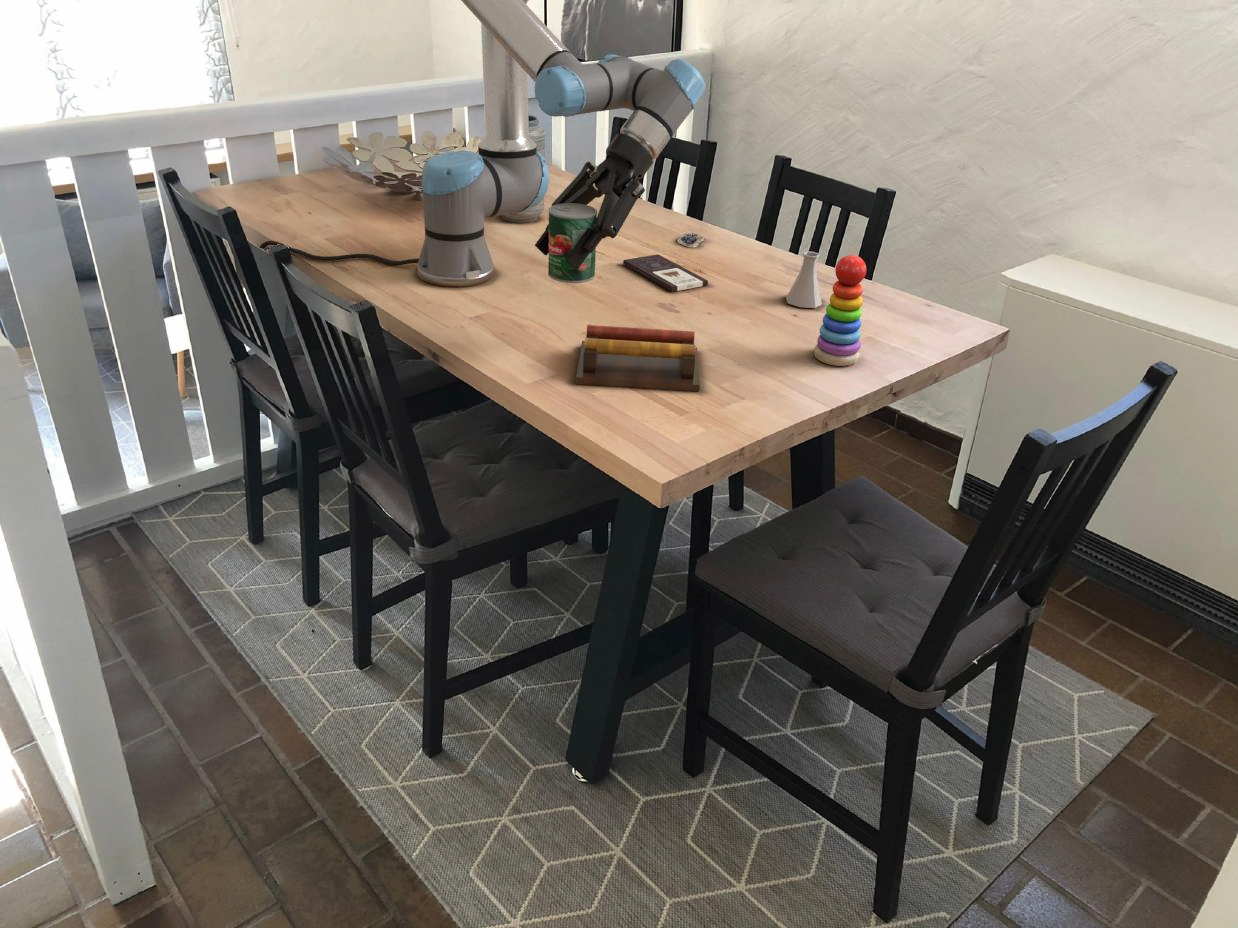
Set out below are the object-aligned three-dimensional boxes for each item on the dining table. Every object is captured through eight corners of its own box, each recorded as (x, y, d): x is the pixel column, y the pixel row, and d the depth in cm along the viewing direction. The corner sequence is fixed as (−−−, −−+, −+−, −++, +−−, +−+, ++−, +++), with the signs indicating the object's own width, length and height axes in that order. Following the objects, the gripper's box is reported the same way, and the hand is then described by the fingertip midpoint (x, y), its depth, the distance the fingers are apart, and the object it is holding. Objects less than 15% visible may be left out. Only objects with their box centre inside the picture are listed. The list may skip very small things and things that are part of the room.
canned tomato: (604, 274, 166) (606, 209, 161) (577, 286, 160) (579, 220, 155) (565, 264, 170) (567, 200, 164) (538, 276, 164) (538, 210, 158)
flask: (824, 299, 198) (832, 251, 193) (818, 311, 192) (827, 262, 187) (789, 293, 200) (796, 245, 195) (782, 305, 194) (789, 256, 189)
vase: (524, 228, 228) (524, 125, 217) (485, 218, 234) (483, 117, 222) (553, 217, 237) (555, 118, 225) (514, 207, 242) (514, 110, 231)
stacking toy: (808, 348, 176) (824, 247, 167) (851, 349, 177) (870, 248, 167) (819, 367, 169) (837, 262, 160) (864, 368, 170) (884, 263, 161)
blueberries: (706, 238, 229) (707, 230, 228) (705, 249, 222) (706, 240, 221) (677, 236, 229) (678, 227, 228) (676, 246, 223) (676, 238, 222)
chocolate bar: (658, 254, 214) (708, 280, 201) (657, 258, 214) (707, 285, 201) (623, 260, 209) (672, 287, 197) (623, 264, 210) (671, 291, 197)
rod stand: (575, 384, 159) (576, 349, 156) (582, 346, 172) (583, 314, 169) (699, 391, 159) (702, 357, 156) (696, 353, 172) (699, 321, 169)
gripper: (689, 175, 158) (606, 289, 157) (609, 148, 172) (532, 253, 171) (666, 145, 152) (580, 263, 152) (586, 119, 166) (506, 227, 165)
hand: (555, 257), depth 161 cm, fingers closed on canned tomato, 8 cm apart
